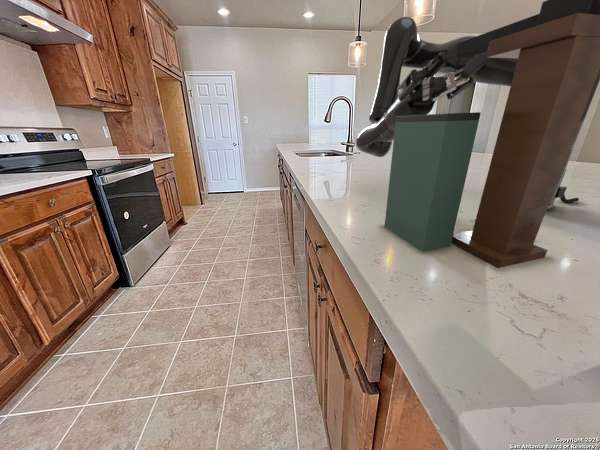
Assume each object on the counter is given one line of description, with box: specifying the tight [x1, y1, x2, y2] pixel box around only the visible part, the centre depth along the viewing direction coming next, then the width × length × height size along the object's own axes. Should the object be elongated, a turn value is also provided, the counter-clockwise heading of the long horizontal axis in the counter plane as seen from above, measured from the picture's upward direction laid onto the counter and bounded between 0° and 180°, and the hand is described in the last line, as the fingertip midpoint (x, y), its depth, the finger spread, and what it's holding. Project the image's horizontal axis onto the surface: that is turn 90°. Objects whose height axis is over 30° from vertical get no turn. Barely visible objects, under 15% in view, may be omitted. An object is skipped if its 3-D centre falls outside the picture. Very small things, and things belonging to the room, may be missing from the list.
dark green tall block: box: [384, 111, 482, 252], centre depth 45 cm, size 6×12×22 cm, turn 15°
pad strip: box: [455, 0, 600, 57], centre depth 35 cm, size 4×18×3 cm, turn 15°
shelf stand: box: [451, 13, 600, 269], centre depth 38 cm, size 10×11×32 cm
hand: (464, 56), depth 43 cm, fingers open, 8 cm apart
